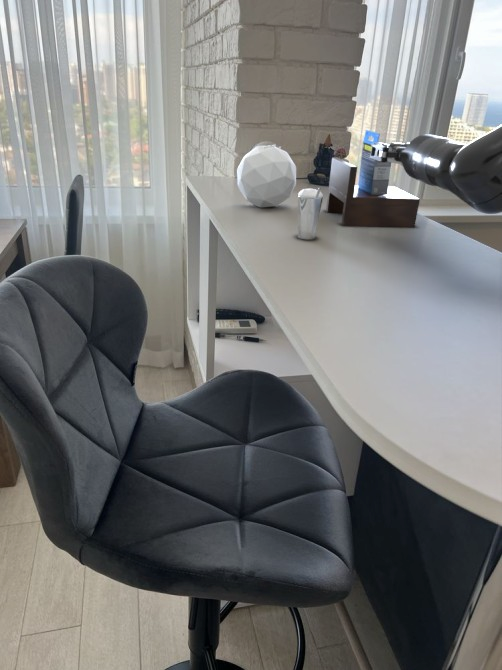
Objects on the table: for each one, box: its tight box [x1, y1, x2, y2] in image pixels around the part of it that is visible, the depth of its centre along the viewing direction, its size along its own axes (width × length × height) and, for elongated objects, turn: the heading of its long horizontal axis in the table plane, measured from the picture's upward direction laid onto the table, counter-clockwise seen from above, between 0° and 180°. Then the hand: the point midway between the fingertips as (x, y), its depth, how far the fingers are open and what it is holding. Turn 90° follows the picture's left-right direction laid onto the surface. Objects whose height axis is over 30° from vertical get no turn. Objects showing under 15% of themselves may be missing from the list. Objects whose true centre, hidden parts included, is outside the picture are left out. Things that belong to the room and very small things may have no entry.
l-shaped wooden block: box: [325, 157, 421, 228], centre depth 111 cm, size 16×14×12 cm
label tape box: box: [357, 129, 392, 195], centre depth 109 cm, size 9×4×12 cm, turn 8°
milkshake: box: [297, 186, 324, 241], centre depth 94 cm, size 4×5×10 cm
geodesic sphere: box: [236, 143, 297, 208], centre depth 118 cm, size 15×14×14 cm
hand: (397, 148), depth 98 cm, fingers open, 8 cm apart
